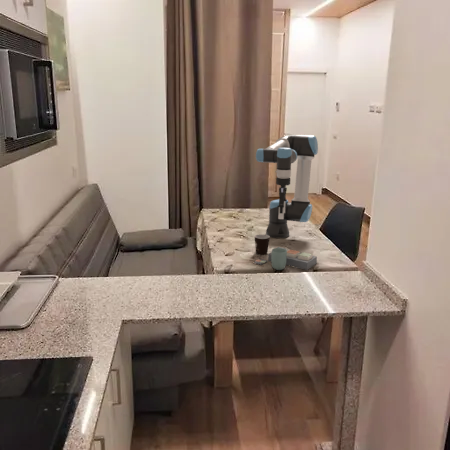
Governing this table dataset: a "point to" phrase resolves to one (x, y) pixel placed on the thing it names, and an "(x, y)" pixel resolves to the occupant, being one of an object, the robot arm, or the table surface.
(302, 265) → the keypad
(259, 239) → the coffee mug
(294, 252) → the key mid
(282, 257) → the cup
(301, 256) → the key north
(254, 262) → the tile
